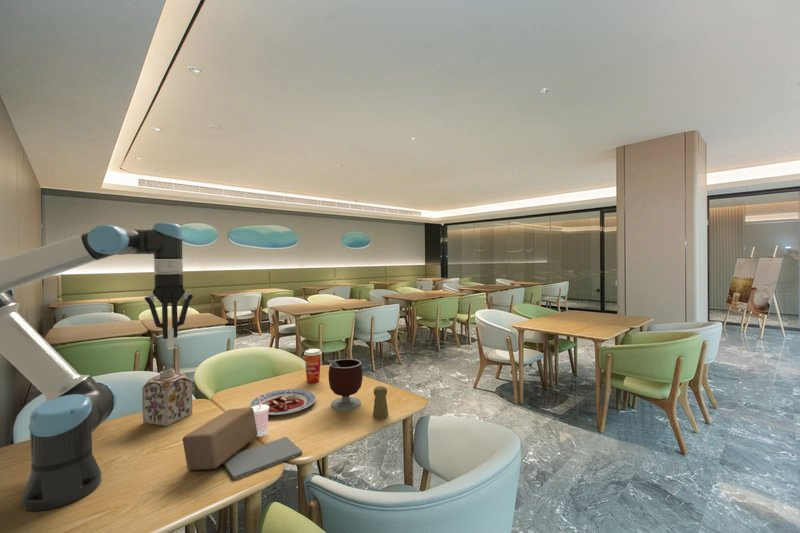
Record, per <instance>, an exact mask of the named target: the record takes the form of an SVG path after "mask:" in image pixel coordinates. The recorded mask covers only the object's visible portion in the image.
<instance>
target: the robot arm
mask: <svg viewBox="0 0 800 533" xmlns="http://www.w3.org/2000/svg"><path fill="white" fill-rule="evenodd" d="M152 226H153V227H152V229H131V228H126V227H121V226H117V225H114V224H102V225H97V226H94V227H93V229H91V230H90V231H88V232H86V233H82V234H79V235H78V234H77V235H75V236H72V237H69V238H65V239H62V240H60V241H56V242H54V243H49V244H47V245H43V246H40V247H37V248H33V249H29V250H27V251H24V252H21V253H18V254H15V255H10V256H8V257H5V258H1V259H0V354H1V355H2V356H3V357H4V358H5V359H6V360H7V361H8V362H10V364H11V365H12V366H13V367H14V368H16V370H18V371H19V372H20V374H22V375H23V377H25V378H26V379H27V380H28V381H29V382H30V383H31V384H32V385H33V386H34V387H35V388H36V389H37V390H38V391H39V392H41V393H42V395H44V396H45V402H43V403H41V404H40V405H38V406H36V407H35V408H34V409H33V411H31V412H32V413H31V414H30V416H29V417H30V418H29V420H30V421H29V425H28V429H29V439H30V440H29V441H30V465H31V467H30V468H31V471H30V474H29V476H28V480H27V481H26V485H25V486H24V489H23V490H24V491H23V493H22V496H21V500H22V501H21V502H22V503H21V504H22V508H23V509H24V510H26V511H30V512H40V511H47V510H52V509H56V508H59V507H62V506H63V507H64V506H65V505H68V504H71V503H74V502H76V501H78V500H80V499H82V498H84V497H86V496H87V495H89V494H90V493H92V492H93V491H94V490H95V489H97V488H98V487H99V485H100V484H101V483H102V471H101V468H100V467H99V463H97V460H96V459H95V456H94V455H93V434H92V433H93V432H94V431H95V430H96V429H97V428H98V427H99V426H100V425H101V424H102V423H103V422H105V421H106V420H107V419H108V418H109V417H110V416H111V415H112V412H113V411H114V410H115V407H116V405H117V402H118V401H117V400H118V399H117V394H116V390H114V388H113V387H112V386H111V385H109V384H108V383H105V382H99V381H96V380H95V379H94V378H93V377H92V376H91V375H90V374H80V373H78V371H77V370H76V368H75V369H74V367H73V366H72V365H71V364H70V363H69V362H68V361H66V359H64V357H63V356H62V355H61V354H60V353H59V352H58V351H57V350H55V348H54V347H53V346H52V345H51V344H49V343H48V341H47V340H46V339H45V338H44V337H43V336H42V335H41V334H40V333H39V332H38V331H37V330H36V329H35V328H34V327H33V326H32V325H31V324H30V323H29V322H28V321H27V320H26V319H25V318H24V317H23V316H22V315H20V313H19V312H18V311H19V306H20V304H19V302H18V301H17V300H16V299H15V297H14V294H15V290H14V289H18V288H20V287H22V286H27V285H29V284H31V283H34V282H38V281H41V280H44V279H46V278H49V277H53V276H56V275H58V274H62V273H64V272H67V271H70V270H73V269H75V268H79V267H81V266H84V265H87V264H91V263H93V262H94V263H95V262H97V261H100V260H103V259H106V258H109V257H112V256H115V255H121V256H123V255H153V267H154V268H153V272H154V273H156V274H154V288H153V291H152V293H151V294H150V295H147V296H145V297H144V301H145V302H146V303H147V304H148V307H149V311H150V312H151V316H152V319H153V322H154V325H155V326H156V327H157V328H160V329H162V338H163V339H164V340H166V349H167V350H168V351H170V350H175V339H176V338H178V336H179V335H178V334H179V333H178V328H179V327H180V326H183V325H184V324H185V321H186V317H187V314H188V308H189V306H190V302H191V301H192V299H193V298H194V295H193V294H191V293H189V292H186V289H185V288H184V275H183V274H182V272H183V271H184V267H183V240H184V239H183V235H182V234H183V233H182V227H181V225H180V224H178V223H171V222H156V223H154V224H153V225H152ZM155 298H156V299H157V300H158V301H159V302H160V303H161V321H160V318H159V315H158V311H157V309H156V305H155V303H154V302H155V300H156V299H155ZM181 298H183V303H182V307H181V311H180V314H179V319H178V302H179V301H180V300H181ZM169 304H170V305H171V326H169V317H168V316H169V313H168V312H169V311H168V310H169V308H168V305H169Z"/></svg>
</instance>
